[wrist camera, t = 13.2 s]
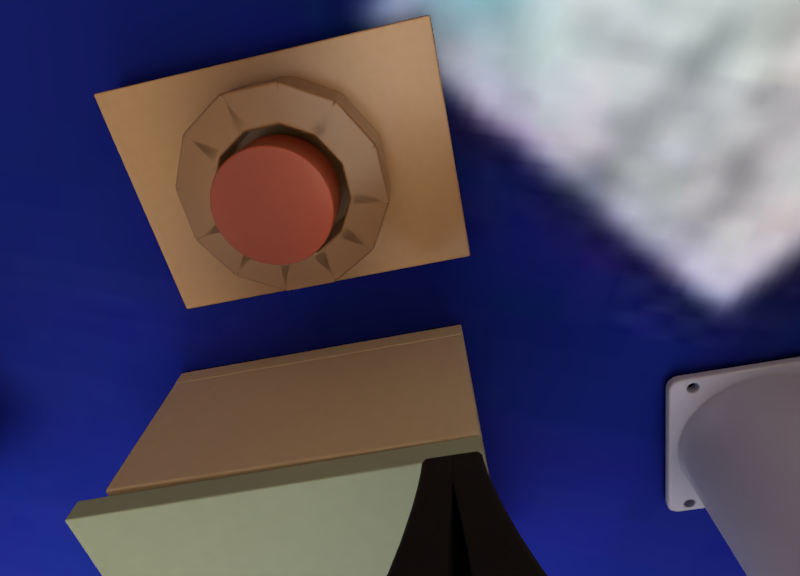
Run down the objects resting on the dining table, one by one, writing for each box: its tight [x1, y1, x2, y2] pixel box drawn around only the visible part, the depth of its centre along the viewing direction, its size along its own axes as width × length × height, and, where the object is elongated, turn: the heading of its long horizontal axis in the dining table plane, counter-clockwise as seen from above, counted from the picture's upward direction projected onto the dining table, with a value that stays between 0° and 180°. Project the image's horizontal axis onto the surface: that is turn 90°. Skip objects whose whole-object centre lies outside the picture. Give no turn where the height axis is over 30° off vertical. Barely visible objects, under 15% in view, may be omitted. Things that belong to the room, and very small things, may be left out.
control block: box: [94, 15, 470, 309], centre depth 18 cm, size 11×8×4 cm
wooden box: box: [106, 325, 490, 496], centre depth 23 cm, size 13×13×7 cm
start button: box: [210, 134, 341, 265], centre depth 16 cm, size 4×4×2 cm
